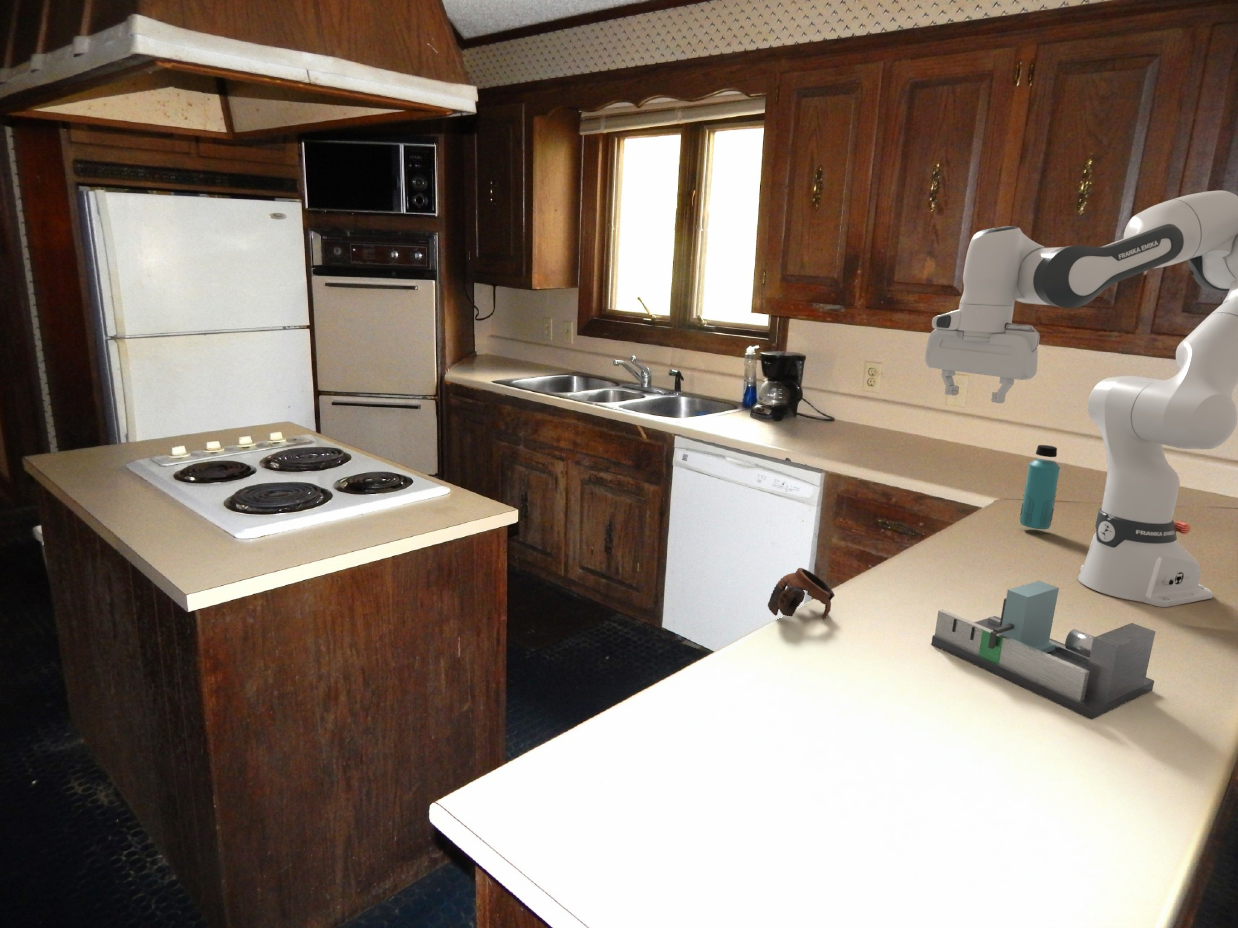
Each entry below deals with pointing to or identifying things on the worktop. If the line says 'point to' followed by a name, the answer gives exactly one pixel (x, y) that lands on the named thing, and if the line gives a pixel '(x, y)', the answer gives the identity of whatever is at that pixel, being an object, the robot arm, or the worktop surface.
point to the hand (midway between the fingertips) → (973, 398)
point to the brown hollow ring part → (799, 592)
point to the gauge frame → (1058, 662)
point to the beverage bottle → (1040, 490)
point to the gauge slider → (1028, 615)
